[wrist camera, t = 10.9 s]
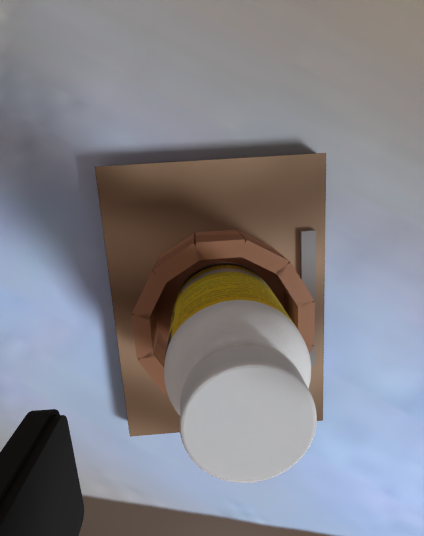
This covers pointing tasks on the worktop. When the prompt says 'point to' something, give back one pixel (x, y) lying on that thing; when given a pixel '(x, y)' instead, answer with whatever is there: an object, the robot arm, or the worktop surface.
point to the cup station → (208, 255)
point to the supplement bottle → (238, 375)
